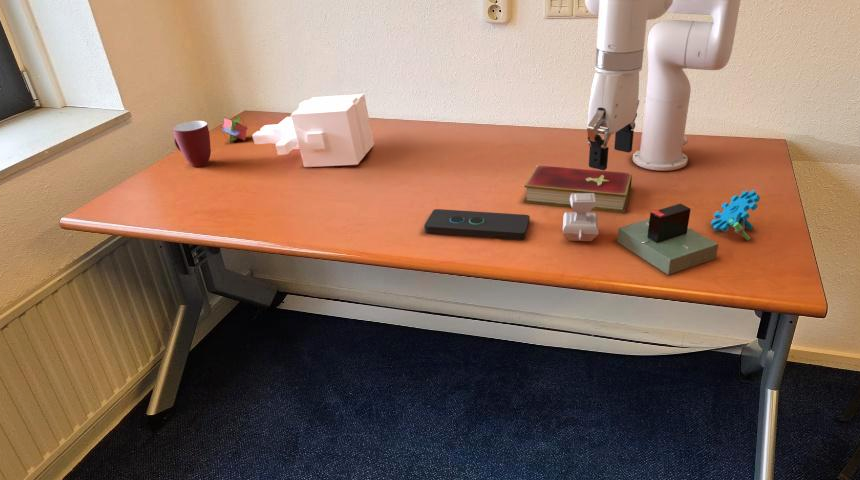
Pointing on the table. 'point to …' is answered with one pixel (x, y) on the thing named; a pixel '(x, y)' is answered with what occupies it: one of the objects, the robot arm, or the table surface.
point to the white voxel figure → (323, 131)
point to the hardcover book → (578, 187)
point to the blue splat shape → (736, 213)
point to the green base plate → (667, 247)
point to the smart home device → (477, 224)
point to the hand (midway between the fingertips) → (610, 159)
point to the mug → (193, 142)
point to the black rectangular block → (668, 223)
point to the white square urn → (581, 218)
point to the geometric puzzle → (234, 129)
